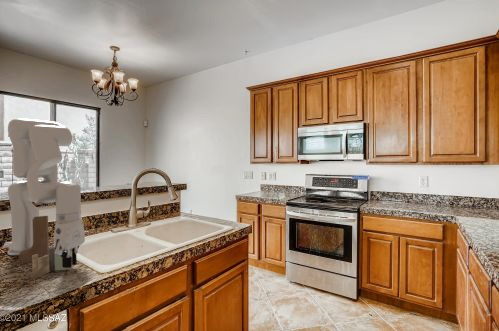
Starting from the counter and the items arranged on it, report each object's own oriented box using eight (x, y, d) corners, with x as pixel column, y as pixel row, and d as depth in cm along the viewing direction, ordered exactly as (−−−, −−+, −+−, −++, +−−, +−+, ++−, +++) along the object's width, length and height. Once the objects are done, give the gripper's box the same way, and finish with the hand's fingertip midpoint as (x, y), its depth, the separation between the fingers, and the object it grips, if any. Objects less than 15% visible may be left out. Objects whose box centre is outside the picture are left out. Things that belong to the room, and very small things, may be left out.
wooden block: (18, 265, 101) (17, 220, 101) (21, 262, 105) (20, 218, 104) (47, 261, 106) (46, 217, 105) (49, 257, 110) (48, 215, 109)
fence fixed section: (36, 281, 89) (35, 255, 88) (30, 281, 89) (30, 255, 89) (56, 271, 97) (55, 247, 96) (51, 270, 97) (51, 247, 97)
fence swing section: (54, 270, 95) (53, 249, 95) (57, 268, 97) (56, 247, 96) (70, 270, 96) (70, 248, 95) (73, 268, 97) (72, 247, 97)
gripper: (61, 222, 88) (62, 276, 88) (92, 212, 103) (93, 258, 104) (40, 222, 88) (41, 275, 89) (74, 212, 104) (75, 257, 104)
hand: (69, 265), depth 96 cm, fingers closed
